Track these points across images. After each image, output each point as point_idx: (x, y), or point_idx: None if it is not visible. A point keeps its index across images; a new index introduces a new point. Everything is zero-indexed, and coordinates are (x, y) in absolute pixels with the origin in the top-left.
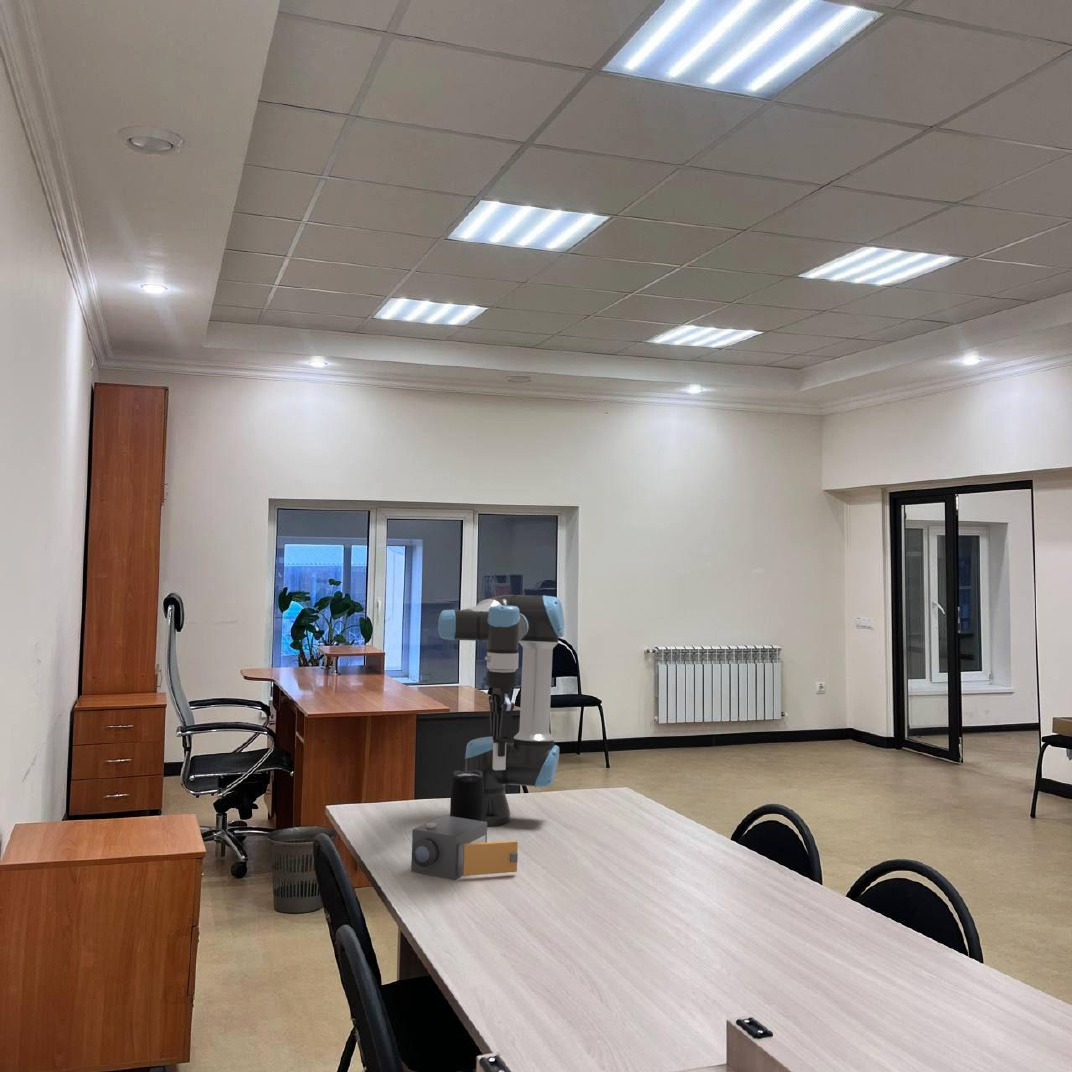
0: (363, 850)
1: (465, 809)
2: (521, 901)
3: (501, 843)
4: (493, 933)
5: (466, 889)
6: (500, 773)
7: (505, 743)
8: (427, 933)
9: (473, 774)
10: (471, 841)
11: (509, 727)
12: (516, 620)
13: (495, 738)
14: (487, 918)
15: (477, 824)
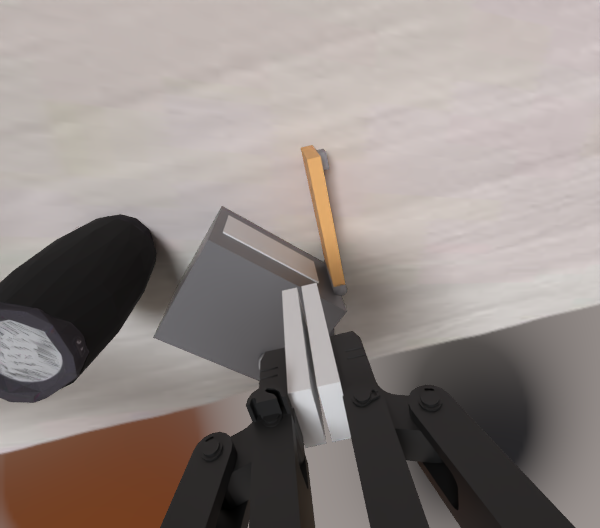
0: (165, 407)
1: (131, 300)
2: (465, 148)
3: (328, 200)
4: (596, 210)
5: (382, 247)
6: None
7: (338, 380)
8: (558, 301)
9: None
10: (283, 265)
11: (540, 503)
12: None
13: (305, 457)
14: (531, 216)
15: (235, 265)
